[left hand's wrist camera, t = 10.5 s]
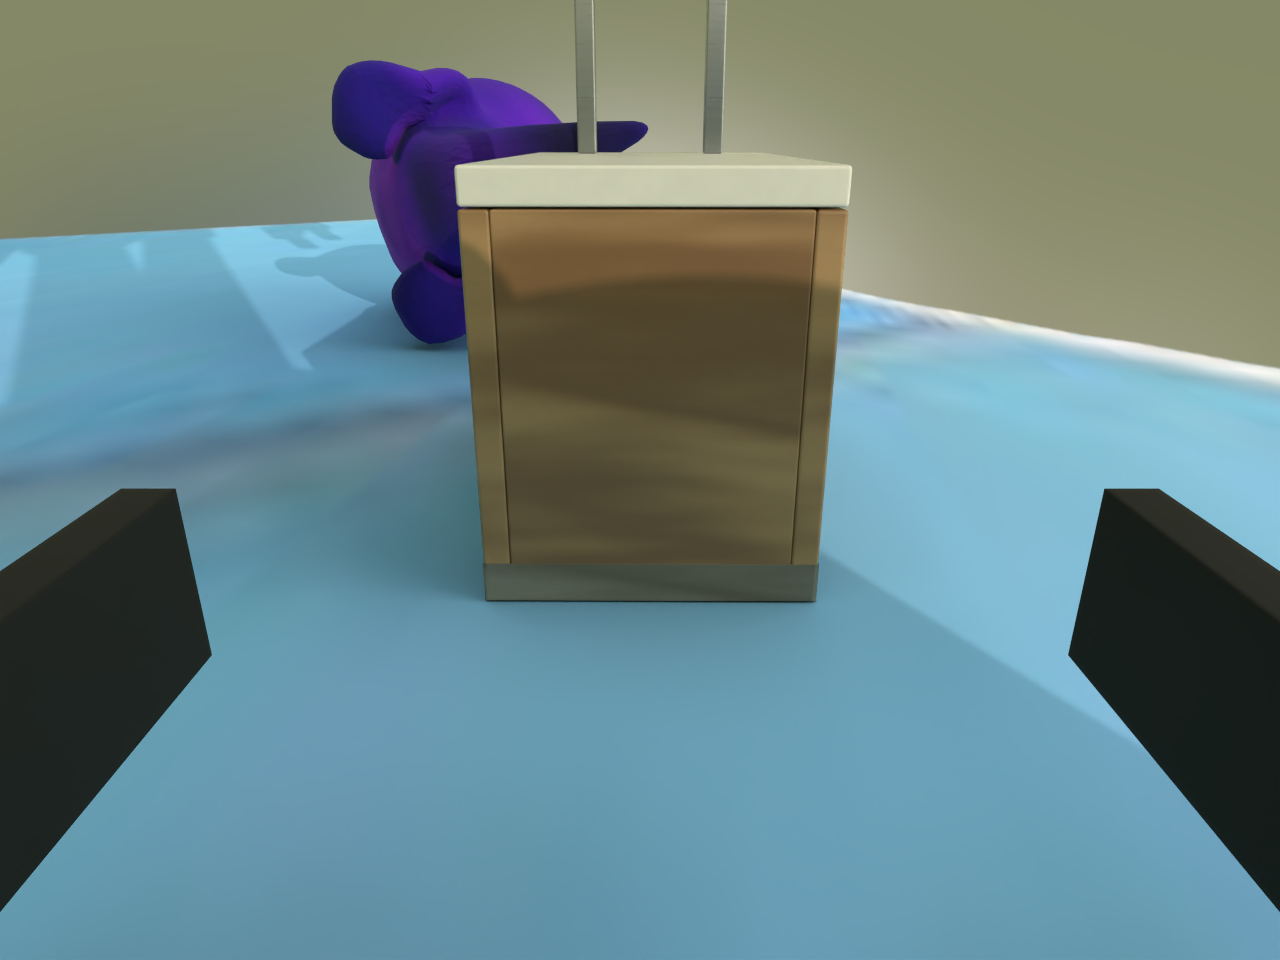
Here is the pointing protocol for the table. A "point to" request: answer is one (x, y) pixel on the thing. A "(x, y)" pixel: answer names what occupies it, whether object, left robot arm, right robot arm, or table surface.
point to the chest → (651, 398)
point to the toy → (440, 167)
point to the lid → (652, 156)
